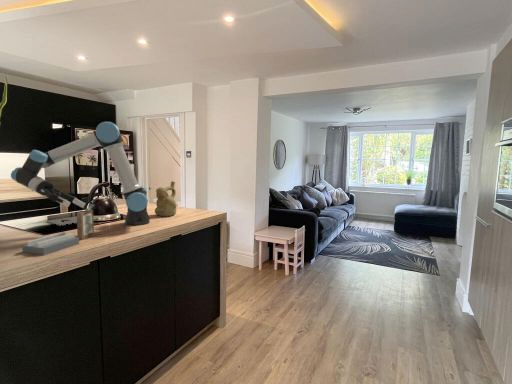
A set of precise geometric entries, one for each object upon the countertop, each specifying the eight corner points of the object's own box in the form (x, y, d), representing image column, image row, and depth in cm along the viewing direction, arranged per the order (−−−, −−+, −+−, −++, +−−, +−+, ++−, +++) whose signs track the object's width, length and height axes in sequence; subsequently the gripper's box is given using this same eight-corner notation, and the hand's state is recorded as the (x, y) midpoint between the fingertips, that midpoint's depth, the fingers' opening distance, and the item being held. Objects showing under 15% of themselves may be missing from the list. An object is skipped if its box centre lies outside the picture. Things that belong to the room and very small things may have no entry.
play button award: (92, 218, 194) (59, 224, 176) (92, 221, 194) (59, 226, 177) (79, 215, 202) (46, 220, 185) (79, 218, 202) (46, 223, 185)
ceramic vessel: (148, 216, 212) (148, 182, 210) (166, 211, 230) (166, 180, 227) (167, 218, 206) (166, 183, 203) (184, 214, 224) (184, 181, 221)
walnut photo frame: (89, 235, 158) (88, 209, 156) (94, 235, 157) (93, 210, 156) (77, 239, 149) (76, 212, 147) (82, 240, 148) (81, 213, 147)
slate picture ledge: (59, 241, 145) (59, 231, 144) (79, 243, 142) (78, 233, 141) (22, 252, 128) (21, 241, 127) (43, 255, 125) (43, 243, 124)
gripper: (53, 194, 166) (86, 211, 166) (19, 190, 141) (57, 211, 141) (60, 182, 166) (92, 200, 166) (27, 177, 141) (65, 197, 141)
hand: (76, 205), depth 153 cm, fingers open, 13 cm apart
